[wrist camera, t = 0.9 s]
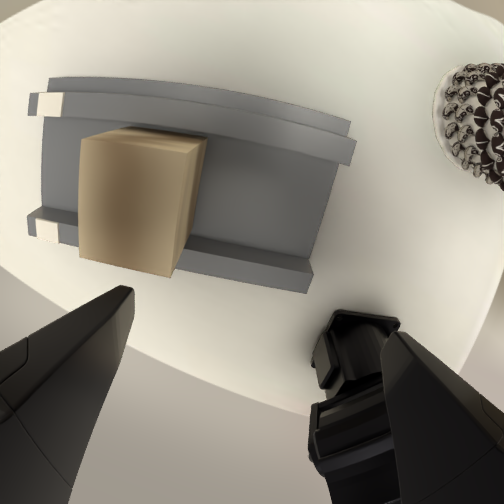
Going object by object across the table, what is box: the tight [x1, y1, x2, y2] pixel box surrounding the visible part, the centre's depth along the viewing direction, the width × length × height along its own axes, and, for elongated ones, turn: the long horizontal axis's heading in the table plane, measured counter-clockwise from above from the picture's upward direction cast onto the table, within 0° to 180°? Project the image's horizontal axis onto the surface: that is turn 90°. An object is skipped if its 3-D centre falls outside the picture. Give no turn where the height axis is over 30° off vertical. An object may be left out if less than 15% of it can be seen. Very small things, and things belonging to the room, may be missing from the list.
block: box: [78, 126, 208, 278], centre depth 16 cm, size 5×6×6 cm
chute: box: [27, 77, 357, 294], centre depth 18 cm, size 20×12×3 cm, turn 77°
